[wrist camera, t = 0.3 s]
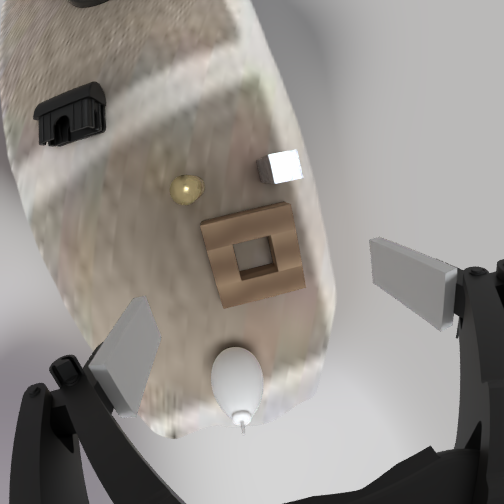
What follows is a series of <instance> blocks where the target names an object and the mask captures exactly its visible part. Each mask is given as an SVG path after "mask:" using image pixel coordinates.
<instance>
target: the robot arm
mask: <svg viewBox="0 0 504 504" xmlns="http://www.w3.org/2000/svg"><path fill="white" fill-rule="evenodd" d="M69 1H70V3H71V4H72V5H74V6H76V7H90V6H94V5H98V4H101V3H103V2H106V1H108V0H69ZM369 243H370V252H371V263H372V276H373V283H374V284H375V285H377V286H379V287H380V288H381V289H383V290H384V291H385V292H387V293H388V294H390V295H391V296H393V297H394V298H395V299H397V300H398V301H400V302H401V303H402V304H404V305H405V306H407V307H408V308H409V309H411V310H412V311H413V312H415V313H416V314H418V315H419V316H420V317H422V318H423V319H425V320H426V321H427V322H429V323H430V324H431V325H432V326H434V327H435V328H436V329H438V330H439V331H443V330H445V329H447V328H448V327H450V326H452V324H453V316H454V313H455V314H456V315H458V316H459V323H458V328H457V335H456V338H458V337H459V342H460V406H459V419H458V430H457V437H456V443H455V447H454V449H452V450H446V451H442V452H438V453H436V452H435V451H434V450H433V448H432V447H431V446H429V447H427V448H426V449H424V450H422V451H420V452H419V453H417V454H415V455H413V456H411V457H409V458H408V459H406V460H404V461H402V462H400V463H398V464H396V465H395V466H394V467H393V468H391V469H390V470H388V471H387V472H386V473H384V474H383V475H382V476H380V477H379V478H378V479H376V480H375V481H373V482H372V483H370V484H369V485H367V486H366V487H364V488H363V489H360V490H357V491H352V492H345V493H338V494H330V495H321V496H312V497H308V498H305V499H301V500H297V501H293V502H289V503H284V504H504V259H503V260H500V261H498V262H497V270H496V272H493V273H489V272H488V271H487V270H486V269H485V268H481V267H469V268H466V269H465V270H461V269H459V268H457V267H454V266H452V265H449V264H447V263H444V262H443V261H440V260H438V259H435V258H432V257H430V256H427V255H425V254H422V253H420V252H417V251H415V250H412V249H410V248H407V247H405V246H402V245H399V244H397V243H394V242H392V241H389V240H387V239H384V238H381V237H378V238H374V239H370V240H369ZM161 338H162V337H161V335H160V332H159V330H158V327H157V325H156V322H155V320H154V317H153V315H152V312H151V309H150V307H149V304H148V301H147V299H146V296H141V297H137V298H133V300H132V301H131V303H130V304H129V305H128V307H127V308H126V310H125V311H124V313H123V314H122V315H121V317H120V318H119V320H118V321H117V323H116V324H115V326H114V327H113V329H112V330H111V332H110V333H109V335H108V336H107V338H106V339H105V341H104V342H102V343H101V344H100V345H99V346H98V347H97V348H96V349H95V350H94V352H93V353H92V355H91V356H90V358H89V360H88V361H87V362H86V364H85V366H84V367H83V369H82V367H81V366H80V363H79V362H78V360H77V358H76V357H75V356H74V355H66V356H63V357H60V358H59V359H57V360H56V361H54V362H53V363H52V364H51V366H50V368H49V371H50V373H51V374H52V376H53V378H54V379H55V381H56V383H57V384H58V386H59V387H60V389H58V390H54V391H51V392H50V391H49V390H48V388H47V387H46V385H45V384H44V383H38V384H34V385H31V386H30V387H28V388H27V390H26V391H25V393H24V395H23V398H22V402H21V407H20V412H19V416H18V421H17V427H16V432H15V438H14V446H13V453H12V461H11V473H10V493H9V494H10V497H9V504H89V500H88V496H87V491H86V486H85V481H84V475H83V469H82V462H81V456H80V447H79V440H80V442H81V444H82V446H83V448H84V451H85V453H86V455H87V457H88V459H89V461H90V463H91V465H92V467H93V469H94V470H95V472H96V474H97V476H98V478H99V480H100V481H101V483H102V485H103V487H104V488H105V490H106V492H107V493H108V495H109V497H110V498H111V500H112V501H113V503H114V504H186V503H185V502H184V501H183V500H182V499H181V498H180V497H179V496H178V495H177V494H176V493H175V492H174V491H173V490H172V489H171V488H170V487H169V486H168V485H167V484H166V483H165V482H164V481H163V480H162V478H160V476H159V475H158V474H157V473H156V472H155V471H154V470H153V468H152V467H151V466H150V465H149V464H148V462H147V461H146V460H145V459H144V458H143V456H142V455H141V454H140V453H139V451H138V450H137V449H136V448H135V446H134V445H133V444H132V443H131V441H130V440H129V439H128V437H127V436H126V434H125V433H124V432H123V431H122V429H121V427H120V426H119V425H118V423H117V422H116V420H115V419H114V418H113V416H112V415H111V414H112V412H113V409H115V410H116V412H117V413H118V415H119V416H120V417H121V418H122V417H123V418H125V417H136V416H137V413H138V409H139V406H140V403H141V399H142V396H143V393H144V390H145V386H146V383H147V380H148V377H149V374H150V371H151V368H152V364H153V361H154V358H155V355H156V352H157V349H158V346H159V344H160V341H161Z"/></svg>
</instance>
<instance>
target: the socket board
mask: <svg viewBox="0 0 504 504" xmlns="http://www.w3.org/2000/svg"><path fill="white" fill-rule="evenodd" d="M200 227H201V231H202V235H203V239H204V242H205V246H206V250H207V253H208V257H209V261H210V264H211V268H212V271H213V275H214V278H215V282H216V285H217V288H218V292H219V295H220V299H221V302H222V305H223V309H225V308H229V307H233V306H237V305H241V304H245V303H249V302H253V301H257V300H261V299H265V298H269V297H273V296H276V295H280V294H284V293H288V292H291V291H295V290H299V289H302V288H306V285H305V279H304V273H303V267H302V261H301V256H300V250H299V245H298V239H297V234H296V229H295V223H294V218H293V213H292V208H291V204H289V203H286V202H280V203H276V204H271V205H267V206H263V207H258V208H254V209H250V210H246V211H241V212H237V213H233V214H229V215H225V216H221V217H217V218H213V219H209V220H205V221H202V223H201V225H200ZM265 236H267V237H268V241H269V246H270V250H271V255H272V260H273V263H271V264H267V265H264V266H260V267H256V268H252V269H248V270H244V271H240V272H239V268H238V264H237V260H236V257H235V253H234V249H233V244H237V243H241V242H245V241H249V240H253V239H257V238H261V237H265Z"/></svg>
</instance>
